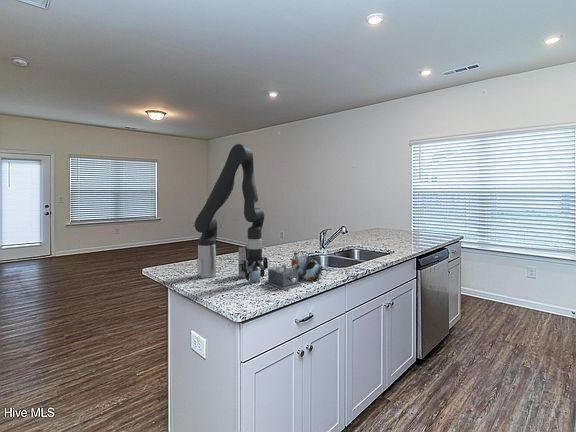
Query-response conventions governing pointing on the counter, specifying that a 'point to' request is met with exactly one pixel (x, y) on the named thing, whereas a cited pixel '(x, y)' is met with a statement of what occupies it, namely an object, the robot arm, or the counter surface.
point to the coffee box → (243, 257)
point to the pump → (254, 275)
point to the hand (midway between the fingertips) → (254, 278)
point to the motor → (283, 277)
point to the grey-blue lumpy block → (306, 267)
